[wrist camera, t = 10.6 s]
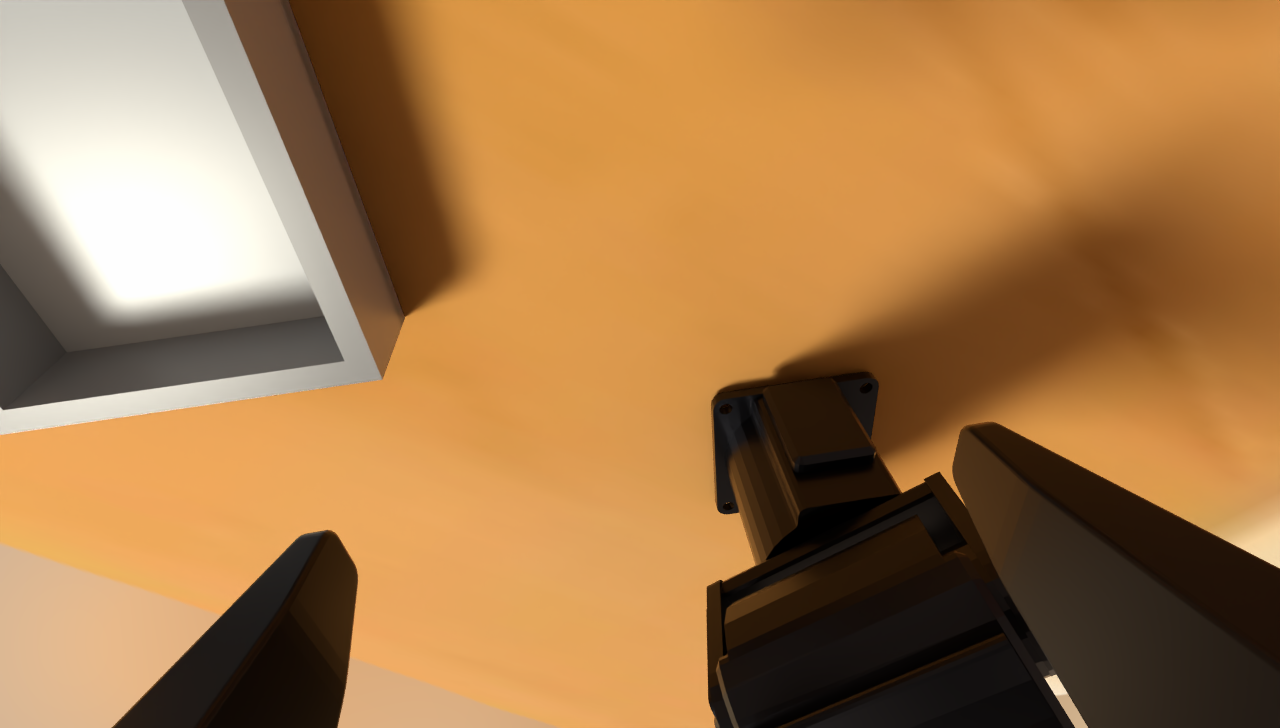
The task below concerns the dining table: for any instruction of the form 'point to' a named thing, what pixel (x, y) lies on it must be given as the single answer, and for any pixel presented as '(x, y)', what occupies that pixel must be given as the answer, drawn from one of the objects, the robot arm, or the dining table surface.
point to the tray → (175, 214)
